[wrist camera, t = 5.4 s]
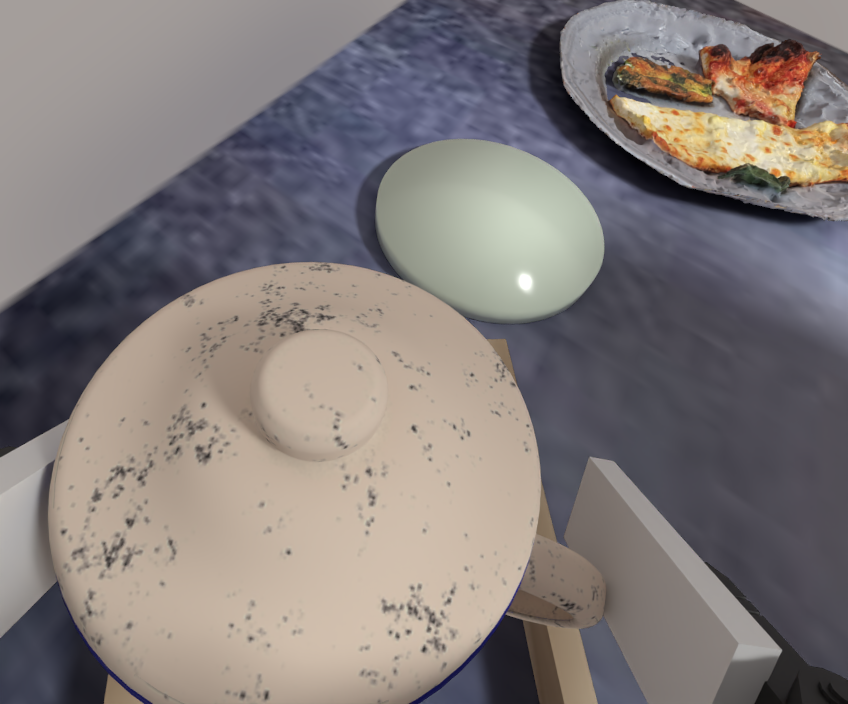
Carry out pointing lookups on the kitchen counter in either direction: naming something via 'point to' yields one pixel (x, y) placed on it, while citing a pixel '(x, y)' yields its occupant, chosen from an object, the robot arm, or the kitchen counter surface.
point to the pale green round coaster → (488, 230)
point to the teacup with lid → (304, 497)
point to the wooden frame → (548, 646)
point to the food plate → (714, 104)
